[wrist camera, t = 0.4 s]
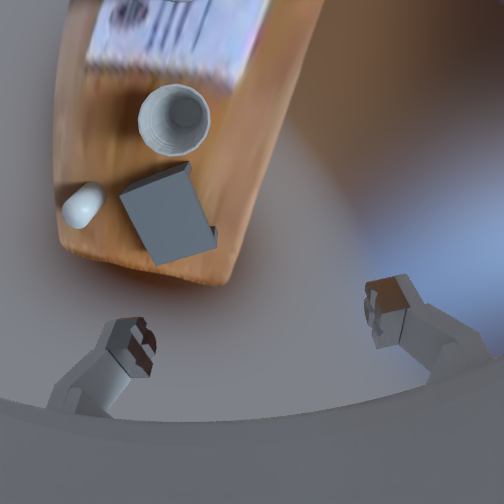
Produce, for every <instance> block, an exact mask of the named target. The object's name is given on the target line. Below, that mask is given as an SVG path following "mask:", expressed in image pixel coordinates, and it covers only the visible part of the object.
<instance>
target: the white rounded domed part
mask: <svg viewBox="0 0 504 504" xmlns="http://www.w3.org/2000/svg"><path fill="white" fill-rule="evenodd" d="M105 201H106V192H105V189H104V188H103V186H102V185H100V184H99V183H97V182H94V181H91V182H87V183H86V184H85V185H83V186H82V187H81V188H80V189H79V190H78V191H77V192H76V193H75V194H73V195H72V196H71V197H70V198H69V199H68V200H67V201H66V202H65V203H64V205H63V207H62V215H63V218H64V220H65V222H66V223H67V224H68V225H69V226H71V227H73V228H76V229H80V228H83V227H85V226H86V225H87V224H88V223H89V221H90V220H91V219H92V218H93V216H94V215H95V214H96V213H97V212H98V210H99V209H100V208H101V207H102V206H103V204H104V203H105Z"/></svg>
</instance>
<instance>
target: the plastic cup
mask: <svg viewBox="0 0 504 504" xmlns="http://www.w3.org/2000/svg"><path fill="white" fill-rule="evenodd" d="M210 124H211V122H210V109H209V107H208V105H207V103H206V102H205V100H204V98H203V96H202V95H200V94H199V93H198V92H197V91H195V90H194V89H193V88H191V87H188V86H184V85H180V84H173V85H166V86H162V87H160V88H159V89H157V90H155V91H154V92H152V93H150V94H149V96H148V97H147V98H146V100H145V101H144V102H143V104H142V105H141V109H140V112H139V116H138V125H139V133H140V134H141V136H142V138H143V140H144V142H145V143H146V145H148V146H149V147H150V148H151V149H153V150H154V151H155V152H156V153H159V154H163V155H166V156H170V157H171V156H180V155H185V154H187V153H189V152H191V151H193V150H195V149H197V147H198V146H199V145H200V144H201V143H202V142H203V140H204V139H205V138H206V136H207V133H208V130H209V127H210Z"/></svg>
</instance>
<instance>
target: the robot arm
mask: <svg viewBox="0 0 504 504" xmlns="http://www.w3.org/2000/svg"><path fill="white" fill-rule="evenodd" d="M170 1H176V2H188V1H194V0H170ZM365 292H366V295H367V297H366V299H365V300H364V310H365V316H366V320H367V323H368V325H369V326H370V327H372V337H373V340H374V343H375V346H376V349H379V348H383V347H388V346H393V345H397V344H399V346H400V347H402V348H403V349H404V350H405V351H406V352H407V353H409V354H410V355H411V356H412V357H413V358H415V359H416V360H417V361H418V362H419V363H420V364H422V365H423V366H424V367H425V368H426V369H428V370H429V371H430V372H431V374H430V376H429V378H428V380H427V383H426V385H423V386H420V387H417V388H414V389H410V390H407V391H403V392H400V393H396V394H393V395H389V396H385V397H381V398H377V399H374V400H369V401H365V402H361V403H356V404H352V405H347V406H342V407H337V408H332V409H326V410H320V411H314V412H309V413H302V414H295V415H287V416H279V417H270V418H261V419H250V420H235V421H216V422H156V421H135V420H122V419H114V418H113V417H111V416H110V415H109V414H108V413H107V411H108V409H109V408H110V407H111V405H112V404H113V403H114V401H115V400H116V399H117V397H118V396H119V395H120V394H121V392H122V391H123V390H124V388H125V387H126V386H127V384H128V383H129V382H130V380H131V378H147V377H148V378H149V377H150V374H151V370H152V366H153V363H152V361H151V358H152V357H153V356H154V355H155V353H156V349H157V347H156V339H155V336H154V334H153V332H152V331H151V330H149V329H147V328H146V325H147V323H146V321H145V320H144V318H143V317H130V318H119V319H109V320H107V321H106V323H105V325H104V327H103V330H102V332H101V334H100V337H99V339H98V342H97V344H96V347H95V349H94V350H91V351H90V352H89V353H88V354H87V355H86V356H85V357H83V359H81V360H80V361H79V362H78V363H77V364H76V365H75V366H74V367H73V368H72V369H71V370H70V371H69V372H67V373H66V374H65V375H64V376H63V377H62V378H61V379H60V380H59V381H58V382H57V383H56V384H55V385H54V388H53V391H52V393H51V396H50V398H49V401H48V404H47V406H46V408H40V407H36V406H32V405H27V404H23V403H19V402H15V401H11V400H7V399H4V398H0V504H504V354H502V355H500V356H498V357H496V358H494V359H493V358H492V356H491V354H490V353H489V350H488V349H487V347H486V345H485V343H484V341H483V340H482V338H481V336H480V334H479V333H478V332H477V331H475V330H474V329H472V328H470V327H469V326H467V325H465V324H463V323H462V322H460V321H458V320H457V319H455V318H453V317H451V316H450V315H448V314H446V313H444V312H443V311H441V310H439V309H437V308H436V307H434V306H432V305H430V304H424V302H423V300H422V299H421V297H420V295H419V293H418V292H417V290H416V288H415V287H414V285H413V283H412V281H411V280H410V278H409V277H408V275H407V274H400V275H396V276H393V277H388V278H383V279H379V280H374V281H369V282H366V285H365Z"/></svg>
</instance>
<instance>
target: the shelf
mask: <svg viewBox="0 0 504 504" xmlns="http://www.w3.org/2000/svg"><path fill="white" fill-rule="evenodd" d="M191 169H192V167H191V164H190V162H189V161H187V162H185V163H182V164H179V165H177V166H174V167H171V168H169V169H166V170H163V171H161V172H158V173H156V174H153V175H151V176H148V177H146V178H143V179H141V180H138V181H136V182H134V183H131V184H129V185H128V186H127V187H126V188H125V190H124V191H123V192H122V193H121V194H120V196H119V197H120V199H121V201H122V203H123V205H124V207H125V209H126V211H127V213H128V215H129V217H130V219H131V221H132V223H133V225H134V226H135V228H136V230H137V232H138V234H139V236H140V238H141V240H142V242H143V244H144V245H145V247H146V249H147V251H148V253H149V255H150V256H151V258H152V260H153V262H154V264H155V266H158V265H162V264H165V263H168V262H172V261H175V260H178V259H181V258H185V257H188V256H191V255H195V254H198V253H201V252H205V251H208V250H211V249H215V248H217V238H218V232H217V229H216V227H212V228H210V226H209V223H208V221H207V219H206V216H205V214H204V211H203V209H202V207H201V204H200V202H199V199H198V197H197V194H196V192H195V190H194V187H193V185H192V182H191V180H190V177H189V174H190V171H191Z"/></svg>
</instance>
